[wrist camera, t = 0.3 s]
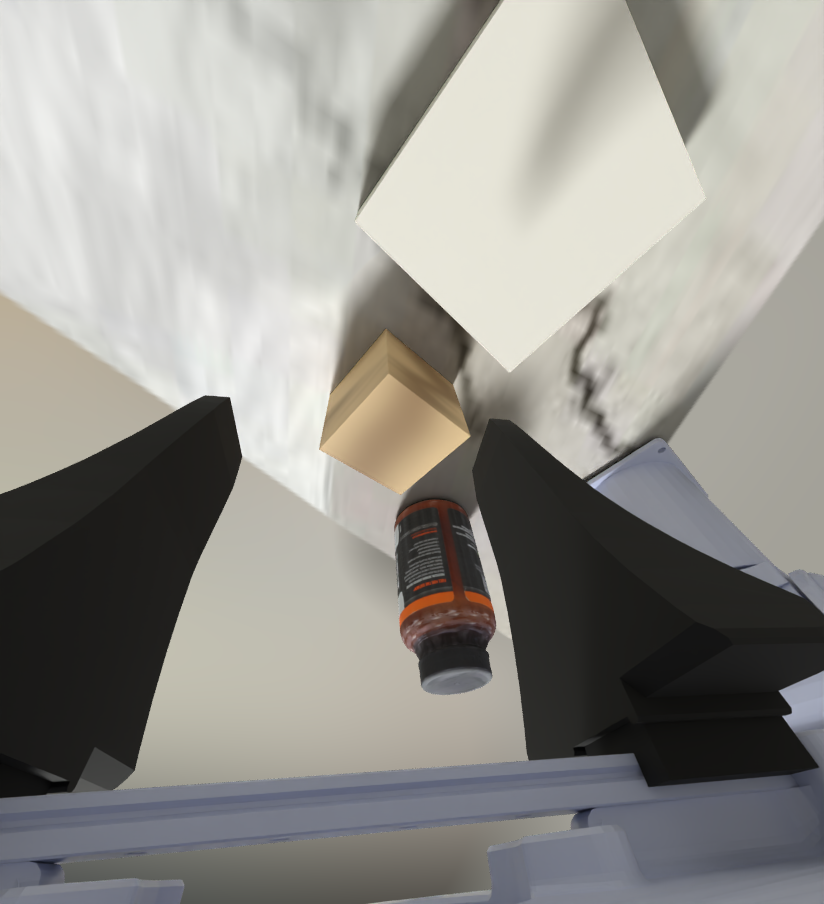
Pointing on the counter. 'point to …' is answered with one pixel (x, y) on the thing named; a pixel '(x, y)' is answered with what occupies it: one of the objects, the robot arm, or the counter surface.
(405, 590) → the supplement bottle
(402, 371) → the oak block
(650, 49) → the counter surface
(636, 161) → the base block
